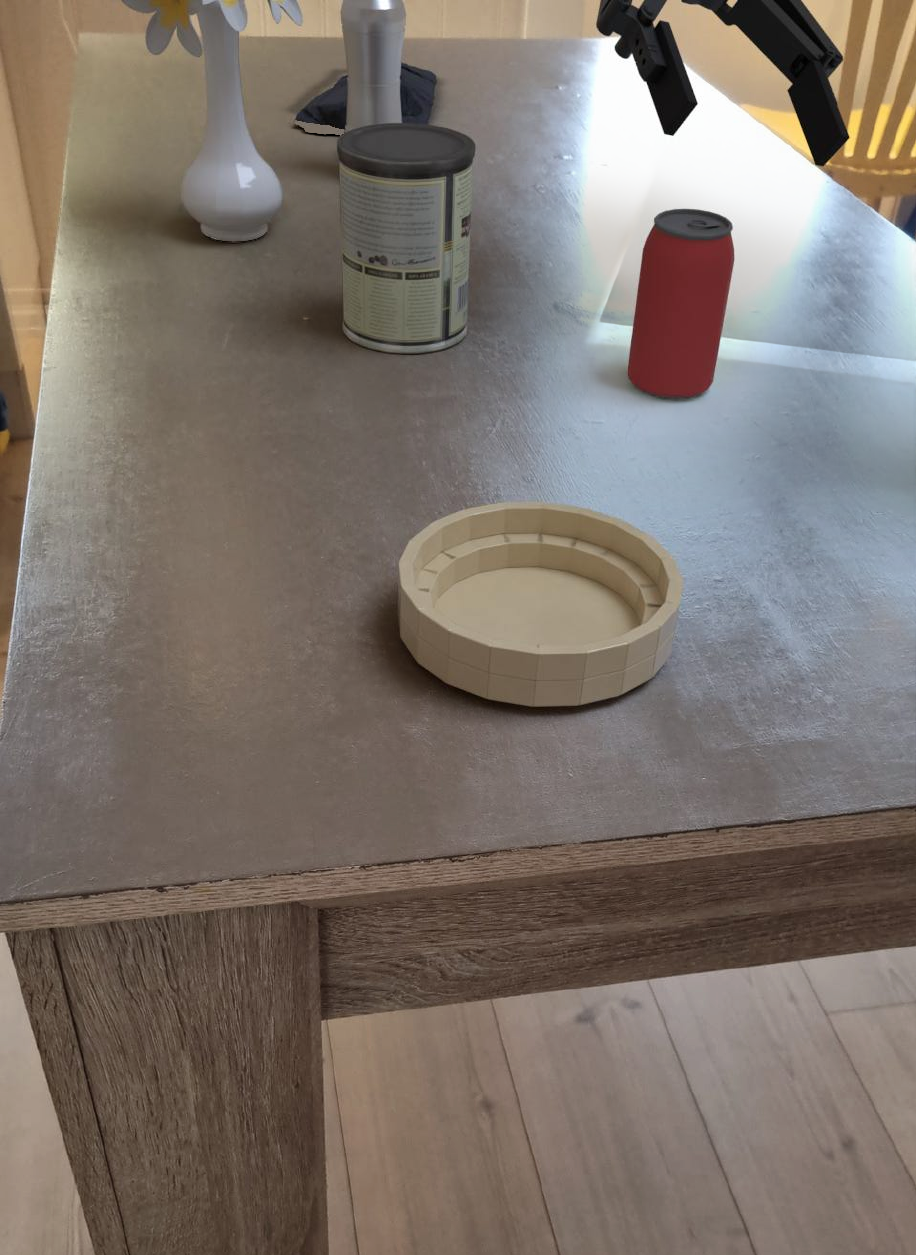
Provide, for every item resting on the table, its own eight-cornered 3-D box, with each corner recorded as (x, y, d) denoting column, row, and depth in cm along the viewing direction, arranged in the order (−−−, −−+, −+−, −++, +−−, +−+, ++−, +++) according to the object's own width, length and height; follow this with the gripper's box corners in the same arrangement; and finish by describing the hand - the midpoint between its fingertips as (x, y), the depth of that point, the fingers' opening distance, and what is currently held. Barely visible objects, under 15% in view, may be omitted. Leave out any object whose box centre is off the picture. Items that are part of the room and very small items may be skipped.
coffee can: (334, 307, 109) (330, 122, 100) (455, 303, 111) (462, 121, 101) (348, 357, 102) (344, 163, 92) (478, 353, 103) (487, 161, 94)
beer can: (720, 403, 98) (750, 238, 90) (634, 403, 98) (656, 236, 90) (701, 366, 103) (728, 206, 95) (619, 366, 102) (639, 205, 94)
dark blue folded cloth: (455, 95, 161) (457, 52, 158) (420, 145, 145) (421, 98, 141) (334, 85, 162) (333, 41, 159) (287, 133, 146) (284, 86, 143)
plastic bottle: (357, 189, 132) (353, -44, 119) (334, 169, 137) (328, -57, 124) (415, 183, 135) (419, -46, 121) (391, 164, 139) (391, -59, 126)
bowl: (683, 581, 79) (694, 523, 77) (656, 737, 68) (667, 674, 65) (434, 544, 81) (435, 486, 79) (366, 688, 70) (365, 626, 67)
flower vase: (134, 262, 115) (91, -78, 98) (200, 197, 129) (173, -111, 112) (277, 277, 114) (259, -65, 97) (329, 210, 127) (320, -100, 111)
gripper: (766, -25, 102) (852, 201, 97) (495, -105, 89) (578, 149, 84) (832, -113, 95) (928, 123, 90) (551, -213, 83) (644, 55, 78)
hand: (759, 136), depth 87 cm, fingers open, 13 cm apart
